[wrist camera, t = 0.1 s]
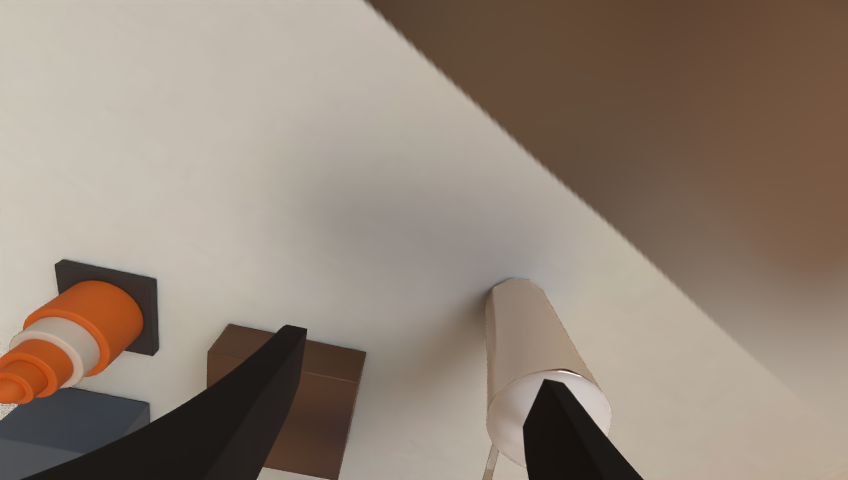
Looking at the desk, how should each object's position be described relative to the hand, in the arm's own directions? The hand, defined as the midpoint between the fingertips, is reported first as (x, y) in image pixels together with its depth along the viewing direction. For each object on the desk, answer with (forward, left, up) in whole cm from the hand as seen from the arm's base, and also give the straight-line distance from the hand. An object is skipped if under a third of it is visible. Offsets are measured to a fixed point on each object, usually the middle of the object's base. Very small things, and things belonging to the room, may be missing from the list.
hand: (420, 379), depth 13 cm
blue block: (-18, +18, -10) cm, 27 cm away
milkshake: (-3, -5, -10) cm, 12 cm away
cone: (-8, +16, -10) cm, 21 cm away
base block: (-12, +6, -10) cm, 17 cm away
